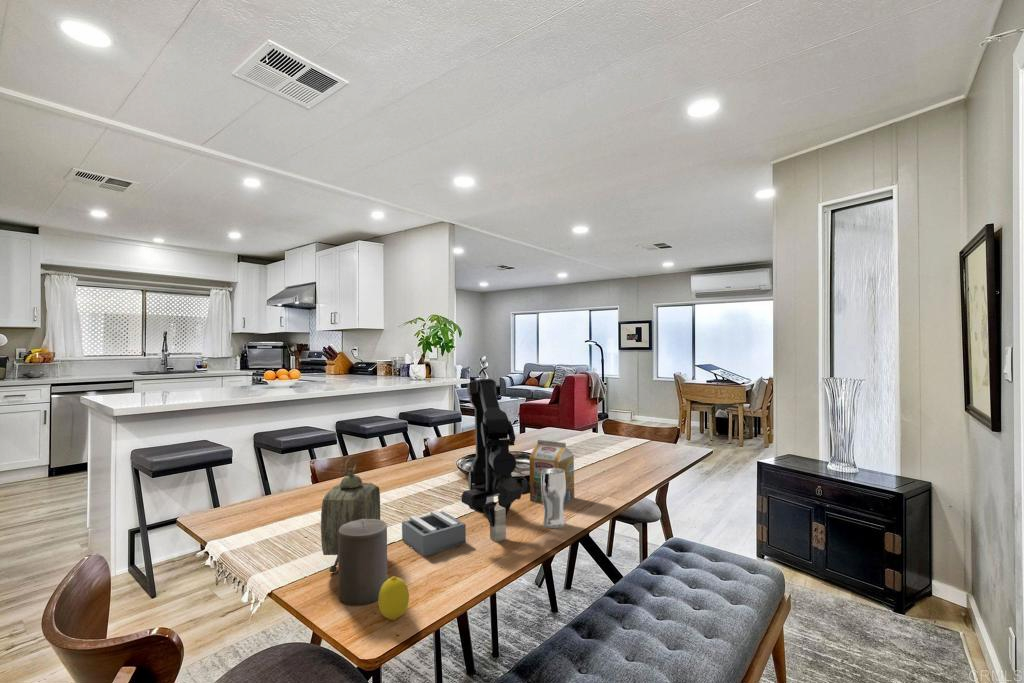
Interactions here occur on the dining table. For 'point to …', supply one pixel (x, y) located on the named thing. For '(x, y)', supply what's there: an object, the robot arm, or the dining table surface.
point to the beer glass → (553, 496)
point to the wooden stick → (499, 524)
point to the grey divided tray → (433, 533)
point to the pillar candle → (362, 561)
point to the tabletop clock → (346, 508)
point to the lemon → (393, 598)
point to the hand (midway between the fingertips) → (497, 524)
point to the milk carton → (550, 457)
